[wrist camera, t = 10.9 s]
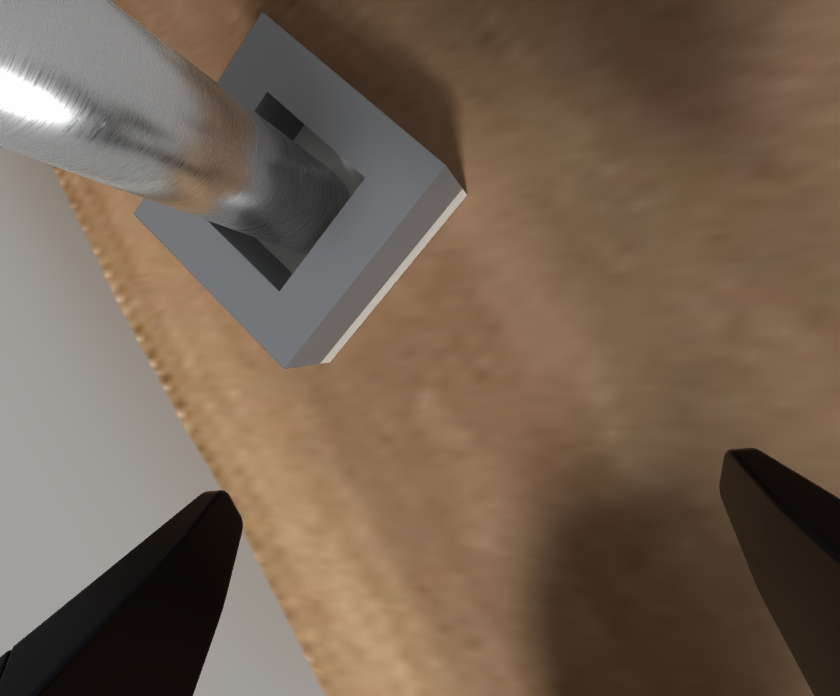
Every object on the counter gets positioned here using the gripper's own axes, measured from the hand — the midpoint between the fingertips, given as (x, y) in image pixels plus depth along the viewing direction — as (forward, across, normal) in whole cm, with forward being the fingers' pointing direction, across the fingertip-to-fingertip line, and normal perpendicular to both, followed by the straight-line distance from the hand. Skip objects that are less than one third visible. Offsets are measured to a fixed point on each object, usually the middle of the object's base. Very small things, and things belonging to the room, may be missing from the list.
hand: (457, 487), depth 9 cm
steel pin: (+15, +7, -2) cm, 17 cm away
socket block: (+16, +7, -2) cm, 18 cm away
